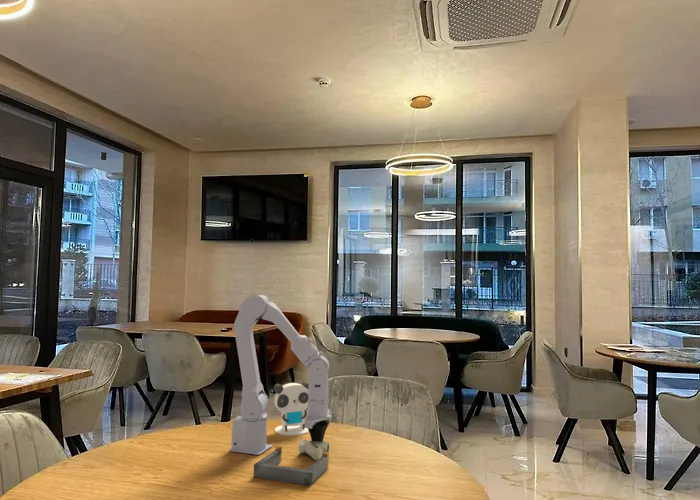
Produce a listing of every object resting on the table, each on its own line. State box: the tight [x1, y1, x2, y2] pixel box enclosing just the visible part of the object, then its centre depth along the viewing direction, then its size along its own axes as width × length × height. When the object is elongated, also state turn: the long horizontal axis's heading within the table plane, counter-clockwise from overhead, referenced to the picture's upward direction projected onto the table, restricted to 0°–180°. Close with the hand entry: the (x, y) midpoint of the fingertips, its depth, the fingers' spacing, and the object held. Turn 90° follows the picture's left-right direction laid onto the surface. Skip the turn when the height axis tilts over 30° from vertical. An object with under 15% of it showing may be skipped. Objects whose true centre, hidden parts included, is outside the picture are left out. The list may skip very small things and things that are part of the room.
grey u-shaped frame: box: [253, 445, 330, 487], centre depth 122 cm, size 15×12×4 cm
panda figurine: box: [273, 381, 309, 436], centre depth 158 cm, size 12×11×15 cm
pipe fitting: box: [298, 438, 331, 461], centre depth 134 cm, size 8×4×7 cm
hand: (317, 447), depth 138 cm, fingers closed
